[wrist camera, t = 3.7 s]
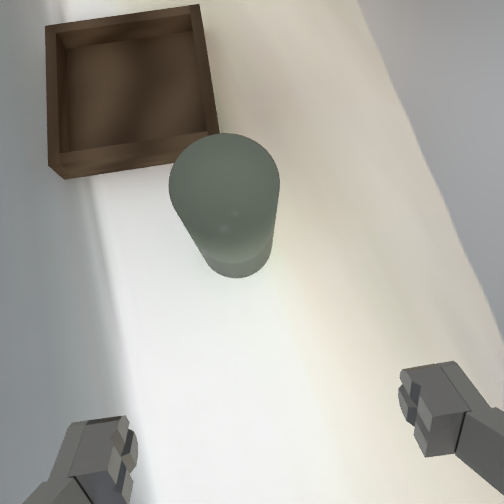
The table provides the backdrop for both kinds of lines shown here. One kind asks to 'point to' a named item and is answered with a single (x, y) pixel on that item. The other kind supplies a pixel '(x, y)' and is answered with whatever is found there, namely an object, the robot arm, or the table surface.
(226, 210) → the sage ceramic canister
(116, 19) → the walnut tray
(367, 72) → the table surface
